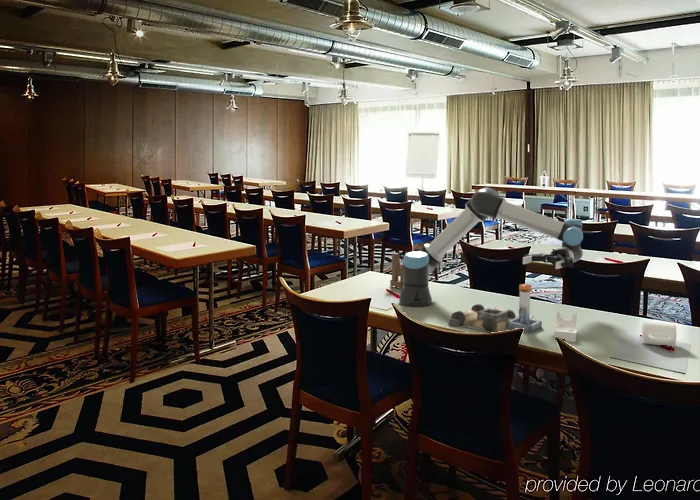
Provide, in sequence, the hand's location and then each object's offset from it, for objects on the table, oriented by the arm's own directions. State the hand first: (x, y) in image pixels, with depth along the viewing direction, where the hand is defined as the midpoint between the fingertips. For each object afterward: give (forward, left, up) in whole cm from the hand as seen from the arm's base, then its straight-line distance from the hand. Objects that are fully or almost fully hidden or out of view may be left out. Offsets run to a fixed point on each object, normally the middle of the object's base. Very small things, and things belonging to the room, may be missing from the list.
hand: (539, 263), depth 218 cm
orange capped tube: (-1, -10, -24) cm, 26 cm away
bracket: (+15, -9, -25) cm, 31 cm away
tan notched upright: (-81, +13, -25) cm, 85 cm away
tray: (-1, -10, -25) cm, 26 cm away
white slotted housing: (+44, +1, -25) cm, 51 cm away
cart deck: (-16, -15, -25) cm, 33 cm away
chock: (-23, -25, -25) cm, 42 cm away
